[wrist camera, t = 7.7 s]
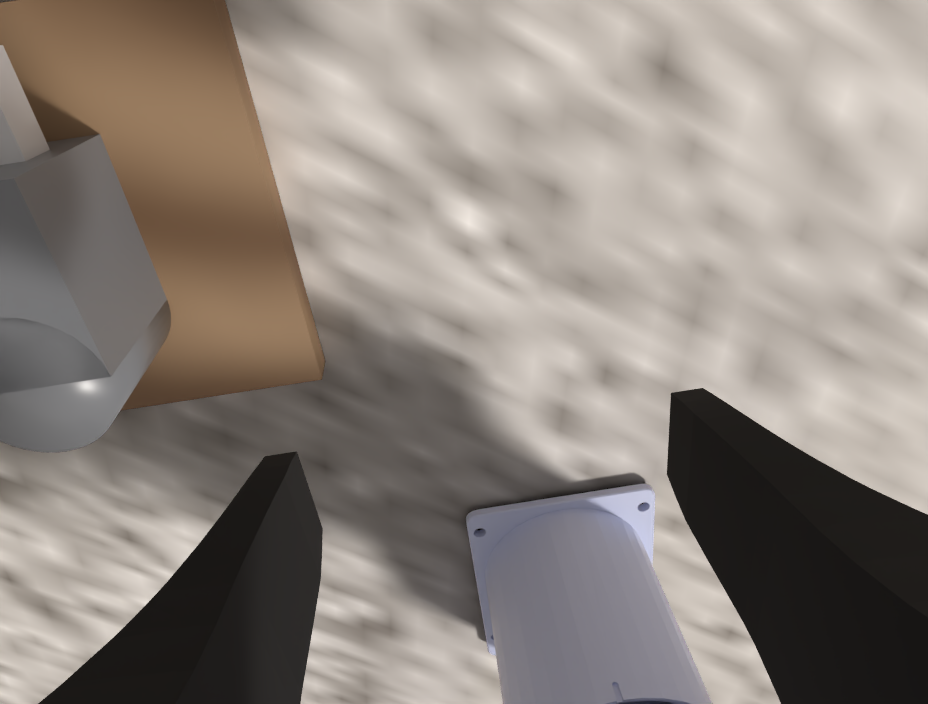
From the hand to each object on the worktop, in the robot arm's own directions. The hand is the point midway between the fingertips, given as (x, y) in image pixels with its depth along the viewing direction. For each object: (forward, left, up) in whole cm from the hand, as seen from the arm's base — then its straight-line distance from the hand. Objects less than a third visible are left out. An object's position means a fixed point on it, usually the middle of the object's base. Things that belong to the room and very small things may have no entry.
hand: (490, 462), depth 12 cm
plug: (+3, +11, -9) cm, 15 cm away
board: (+3, +11, -10) cm, 15 cm away
